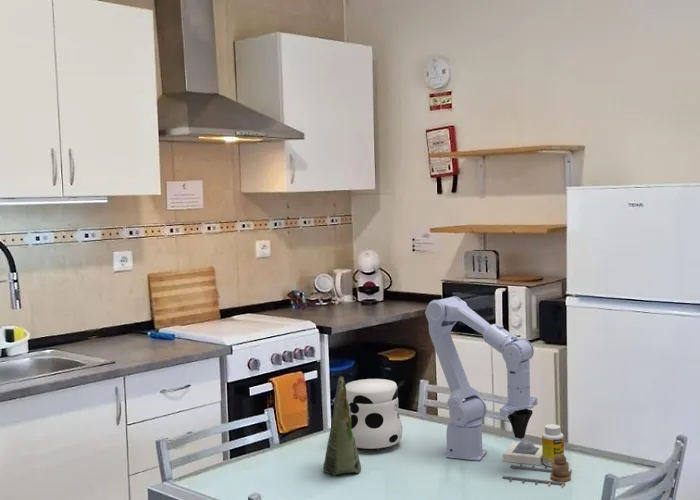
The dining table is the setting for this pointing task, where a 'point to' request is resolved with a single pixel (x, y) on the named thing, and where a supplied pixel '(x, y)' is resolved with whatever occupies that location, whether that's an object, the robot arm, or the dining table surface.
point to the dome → (526, 447)
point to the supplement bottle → (552, 443)
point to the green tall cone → (341, 437)
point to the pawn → (560, 469)
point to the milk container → (374, 413)
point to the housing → (523, 456)
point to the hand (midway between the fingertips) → (519, 437)
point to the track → (534, 479)
